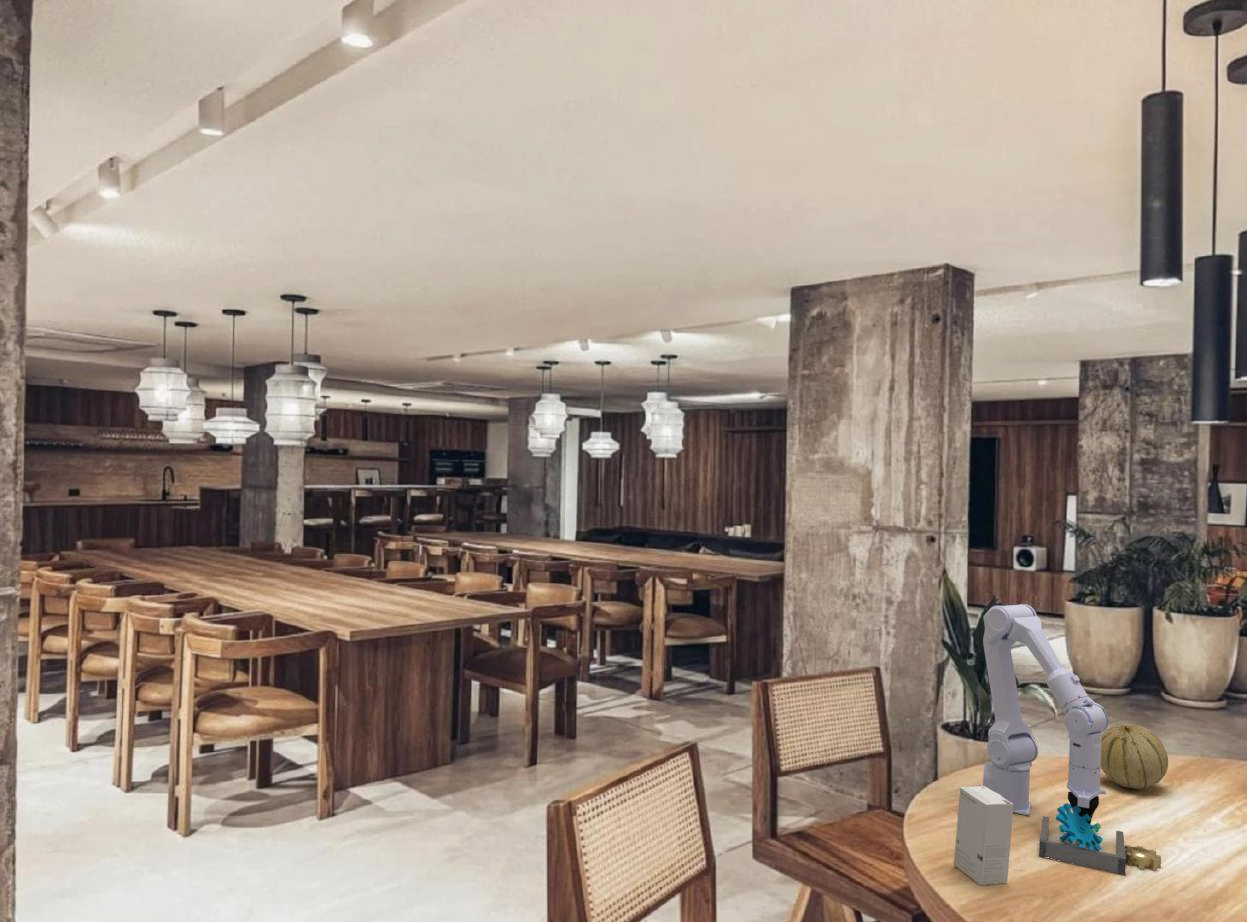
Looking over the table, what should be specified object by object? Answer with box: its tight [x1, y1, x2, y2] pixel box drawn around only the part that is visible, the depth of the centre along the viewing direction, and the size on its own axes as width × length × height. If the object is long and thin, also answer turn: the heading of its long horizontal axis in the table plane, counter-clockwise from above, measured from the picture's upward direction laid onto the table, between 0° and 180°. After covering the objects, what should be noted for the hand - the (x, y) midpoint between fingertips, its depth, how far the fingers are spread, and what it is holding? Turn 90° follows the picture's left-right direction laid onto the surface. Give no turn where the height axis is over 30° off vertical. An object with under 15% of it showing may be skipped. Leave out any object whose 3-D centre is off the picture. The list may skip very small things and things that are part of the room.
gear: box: [1055, 802, 1103, 851], centre depth 176 cm, size 11×6×10 cm
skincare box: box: [953, 785, 1014, 886], centre depth 162 cm, size 8×6×15 cm
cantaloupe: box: [1100, 723, 1169, 790], centre depth 211 cm, size 15×15×15 cm
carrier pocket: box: [1038, 815, 1162, 876], centre depth 172 cm, size 20×14×3 cm
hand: (1082, 831), depth 180 cm, fingers closed
